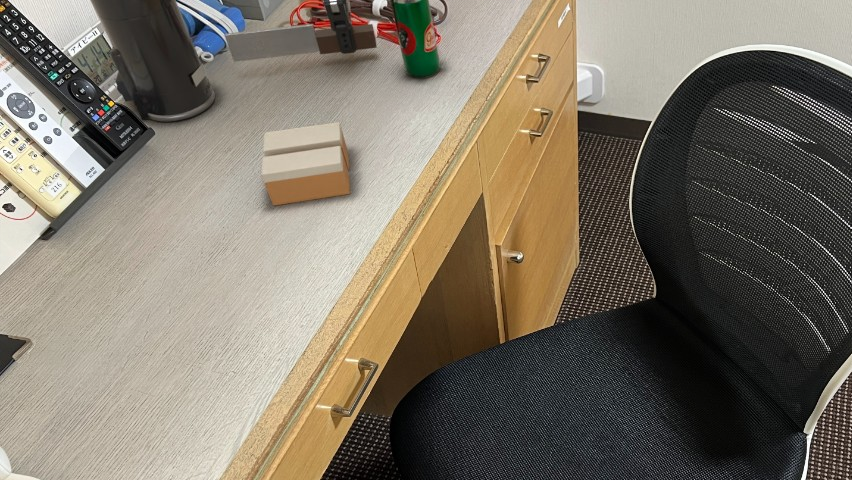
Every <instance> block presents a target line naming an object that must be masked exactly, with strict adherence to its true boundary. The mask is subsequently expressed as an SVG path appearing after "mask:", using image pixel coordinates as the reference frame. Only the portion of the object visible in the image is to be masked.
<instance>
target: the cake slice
mask: <svg viewBox="0 0 852 480" xmlns="http://www.w3.org/2000/svg"><path fill="white" fill-rule="evenodd" d="M260 172H261V173H260V175H261V178H262V180H263V184H264V185H265V188H266V190H267V191H266V192H267V193H268V195H269V199H270V200H271V203H272V206H274V207H275V206H280V205H284V204H285V205H286V204H292V203H301V202H305V201H306V202H307V201H312V200H320V199H326V198H331V197H337V196H345V195H350V194H351V183H350V174H349V170H347V167H346V164H345V160H344V157H343V154H342V150H341V147H340V146H335V147H329V148H322V149H315V150H308V151H301V152H295V153H288V154H281V155H274V156H267V157H265V156H262V160H261V171H260Z"/></svg>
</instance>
